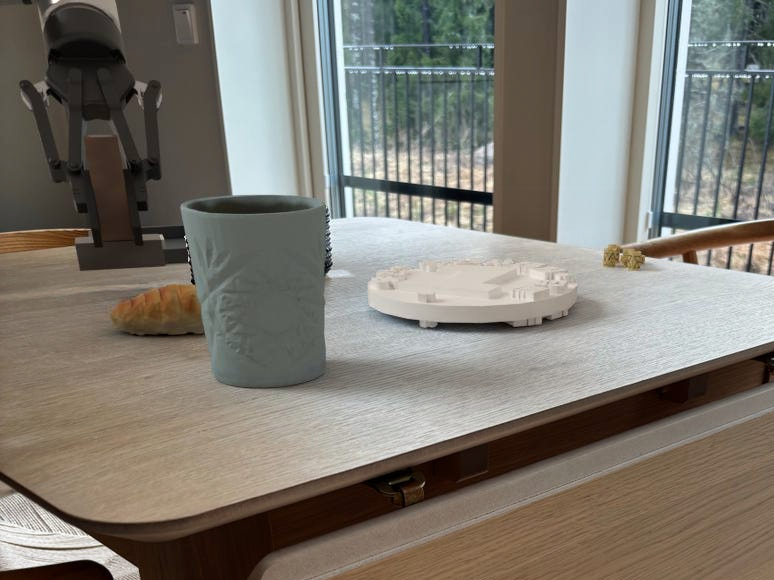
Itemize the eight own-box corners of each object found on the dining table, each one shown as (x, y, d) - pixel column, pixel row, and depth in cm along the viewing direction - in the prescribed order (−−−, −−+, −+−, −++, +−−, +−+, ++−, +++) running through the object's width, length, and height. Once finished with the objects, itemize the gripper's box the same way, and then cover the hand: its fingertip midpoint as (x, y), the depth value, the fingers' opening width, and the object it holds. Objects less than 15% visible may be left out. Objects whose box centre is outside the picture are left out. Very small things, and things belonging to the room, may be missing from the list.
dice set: (637, 271, 110) (639, 253, 109) (595, 268, 112) (595, 250, 111) (651, 264, 114) (652, 246, 113) (609, 261, 116) (610, 243, 115)
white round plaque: (326, 308, 94) (323, 276, 93) (471, 279, 106) (471, 251, 105) (472, 344, 82) (472, 308, 80) (617, 307, 94) (619, 275, 92)
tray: (92, 248, 125) (88, 229, 124) (197, 242, 129) (195, 224, 128) (92, 275, 109) (88, 253, 108) (213, 267, 113) (210, 246, 112)
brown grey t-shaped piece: (80, 271, 95) (54, 138, 89) (80, 264, 98) (55, 135, 92) (165, 266, 97) (145, 136, 91) (162, 259, 100) (143, 133, 94)
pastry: (114, 341, 83) (105, 295, 82) (113, 324, 89) (104, 281, 87) (225, 332, 86) (219, 287, 84) (218, 316, 92) (212, 274, 90)
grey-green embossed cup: (252, 350, 81) (233, 191, 74) (362, 362, 77) (351, 196, 71) (177, 383, 72) (148, 208, 66) (296, 397, 69) (277, 214, 63)
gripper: (-14, 1, 92) (18, 214, 87) (163, 4, 96) (203, 207, 91) (4, 66, 99) (34, 267, 94) (168, 66, 103) (205, 258, 98)
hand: (117, 237), depth 93 cm, fingers closed on brown grey t-shaped piece, 3 cm apart
